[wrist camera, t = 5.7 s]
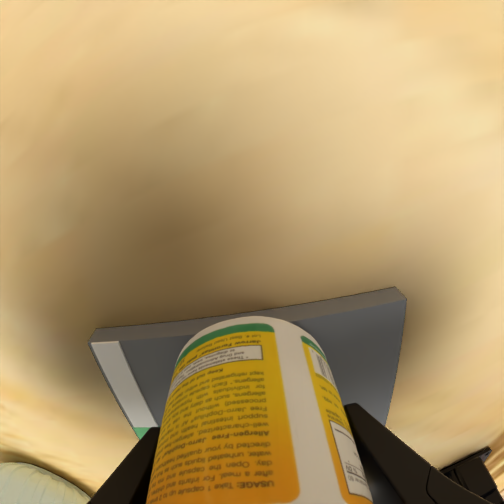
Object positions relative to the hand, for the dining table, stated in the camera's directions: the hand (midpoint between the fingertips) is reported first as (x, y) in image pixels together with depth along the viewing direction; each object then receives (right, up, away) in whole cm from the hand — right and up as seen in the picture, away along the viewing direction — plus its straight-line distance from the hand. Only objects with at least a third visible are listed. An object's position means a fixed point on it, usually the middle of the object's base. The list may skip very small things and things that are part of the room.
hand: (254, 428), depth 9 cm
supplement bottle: (0, +1, +3) cm, 3 cm away
